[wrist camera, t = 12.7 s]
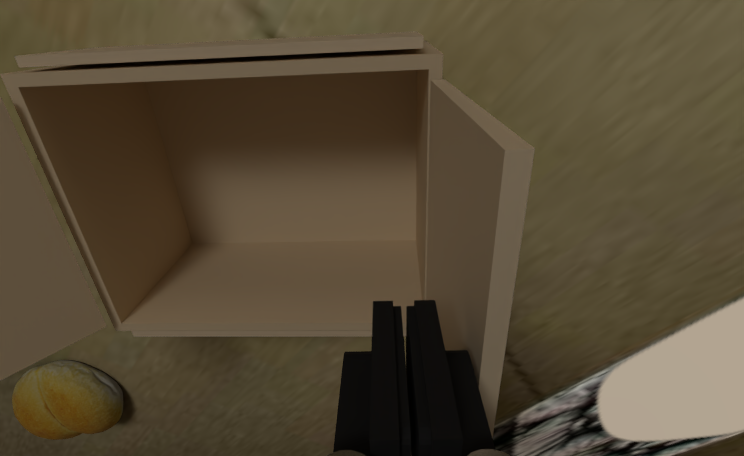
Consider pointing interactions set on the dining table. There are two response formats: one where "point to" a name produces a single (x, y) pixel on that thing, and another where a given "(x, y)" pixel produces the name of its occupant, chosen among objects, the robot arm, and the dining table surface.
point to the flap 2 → (474, 230)
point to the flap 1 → (35, 267)
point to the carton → (241, 178)
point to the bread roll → (66, 400)
